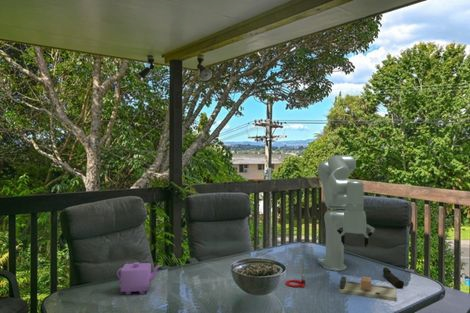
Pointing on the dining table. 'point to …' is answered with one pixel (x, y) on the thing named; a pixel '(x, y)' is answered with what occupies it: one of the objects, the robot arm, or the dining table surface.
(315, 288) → the dining table surface
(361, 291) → the gauge board
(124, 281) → the teapot
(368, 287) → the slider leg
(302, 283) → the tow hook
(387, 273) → the hand tool
